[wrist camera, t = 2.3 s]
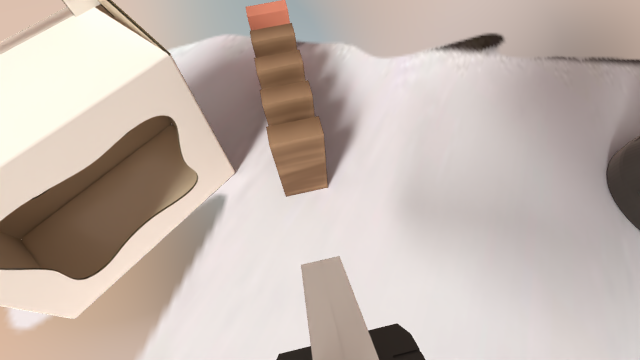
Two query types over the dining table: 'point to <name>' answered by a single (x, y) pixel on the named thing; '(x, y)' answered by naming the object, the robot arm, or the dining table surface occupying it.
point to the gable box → (93, 155)
